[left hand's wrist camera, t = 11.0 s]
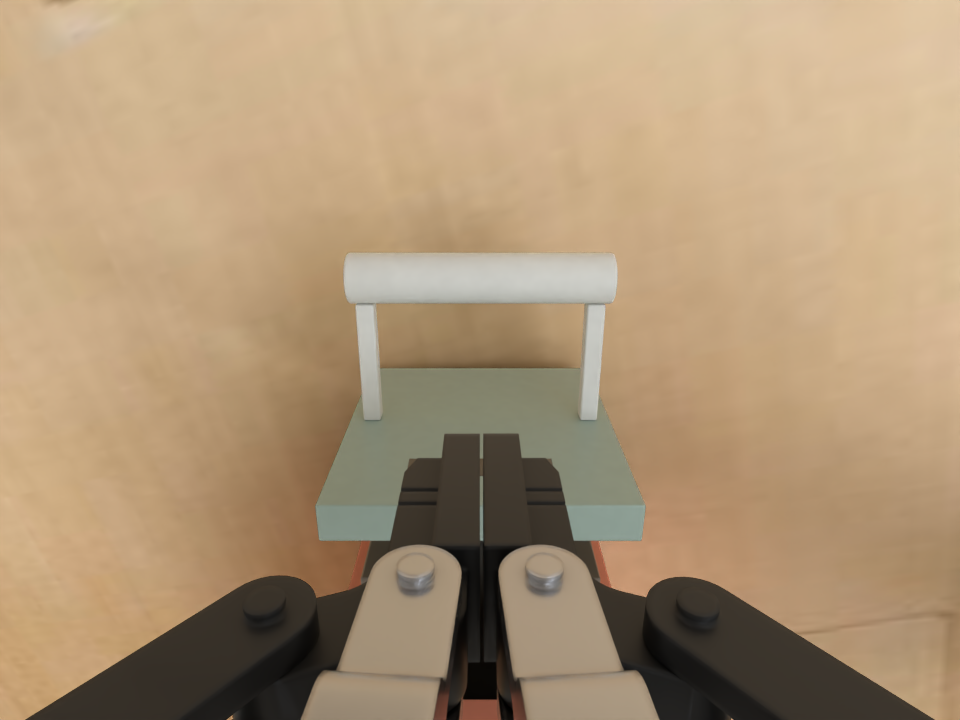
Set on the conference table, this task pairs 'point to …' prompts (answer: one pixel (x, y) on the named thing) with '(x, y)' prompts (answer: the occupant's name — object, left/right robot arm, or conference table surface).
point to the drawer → (479, 405)
